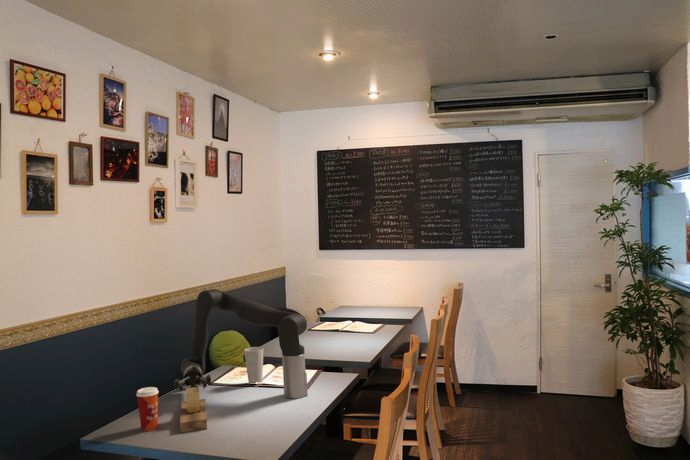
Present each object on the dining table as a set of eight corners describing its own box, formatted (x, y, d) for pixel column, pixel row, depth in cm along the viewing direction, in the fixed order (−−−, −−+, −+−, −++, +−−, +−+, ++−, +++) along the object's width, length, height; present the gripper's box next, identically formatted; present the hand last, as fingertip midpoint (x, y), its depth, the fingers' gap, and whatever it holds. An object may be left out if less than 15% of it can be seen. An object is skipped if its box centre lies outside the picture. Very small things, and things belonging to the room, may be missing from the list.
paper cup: (153, 432, 200) (151, 393, 200) (133, 431, 202) (131, 392, 201) (164, 424, 208) (162, 386, 208) (145, 423, 209) (143, 386, 209)
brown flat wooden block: (205, 407, 224) (205, 398, 224) (206, 428, 201) (206, 419, 201) (182, 410, 222) (181, 401, 222) (180, 432, 199) (180, 422, 199)
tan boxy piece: (200, 415, 216) (198, 386, 215) (200, 421, 209) (198, 391, 209) (187, 417, 214) (186, 388, 214) (187, 423, 208) (185, 393, 207)
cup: (269, 381, 255) (267, 347, 255) (256, 387, 248) (254, 352, 248) (254, 379, 260) (252, 346, 260) (241, 384, 253) (240, 350, 252)
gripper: (174, 369, 236) (173, 379, 220) (210, 365, 239) (211, 375, 224) (175, 387, 236) (174, 398, 220) (210, 383, 240) (212, 394, 224)
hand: (192, 387), depth 222 cm, fingers open, 8 cm apart
